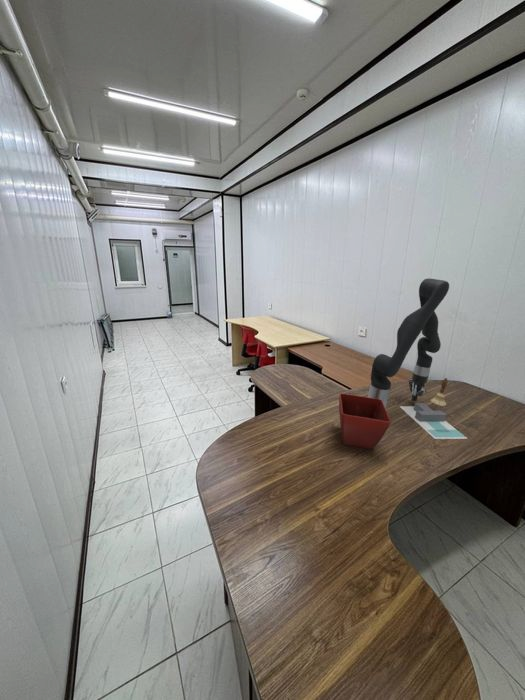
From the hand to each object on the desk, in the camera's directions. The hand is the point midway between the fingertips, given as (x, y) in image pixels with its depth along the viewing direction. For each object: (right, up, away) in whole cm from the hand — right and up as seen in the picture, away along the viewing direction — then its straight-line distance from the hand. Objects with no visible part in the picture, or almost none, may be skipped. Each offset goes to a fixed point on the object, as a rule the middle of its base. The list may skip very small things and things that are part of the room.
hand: (413, 400), depth 158 cm
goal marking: (+2, -10, -21) cm, 23 cm away
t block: (+1, -6, -9) cm, 11 cm away
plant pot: (-44, -11, -33) cm, 56 cm away
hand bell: (+18, -2, +6) cm, 19 cm away
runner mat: (+1, -8, -15) cm, 17 cm away
